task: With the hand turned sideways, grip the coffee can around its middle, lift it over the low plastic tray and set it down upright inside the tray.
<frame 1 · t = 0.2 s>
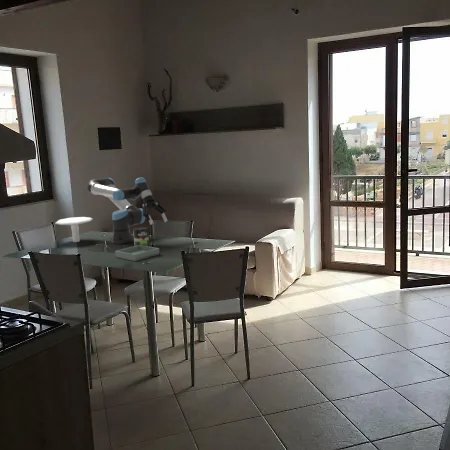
hand: (159, 222, 348), 14 cm above the table, tool tilted 35°, fingers open, 13 cm apart
table 2: (76, 241, 369), on the table
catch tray: (137, 255, 314), on the table
coffee can: (142, 248, 335), on the table
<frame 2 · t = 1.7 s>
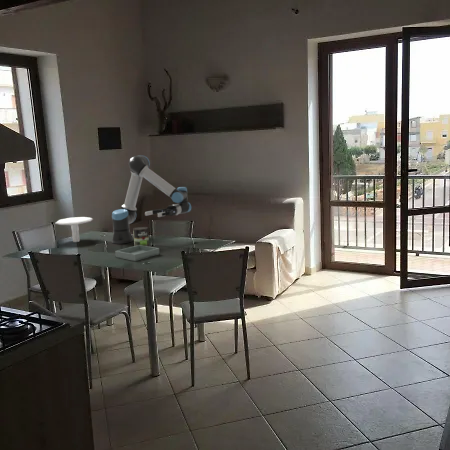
hand: (151, 214, 339), 22 cm above the table, tool horizontal, fingers open, 13 cm apart
nothing on the table moved.
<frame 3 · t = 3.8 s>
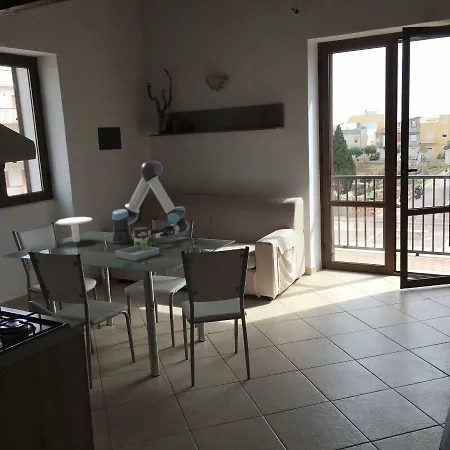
hand: (149, 235, 338), 8 cm above the table, tool horizontal, fingers open, 13 cm apart
nothing on the table moved.
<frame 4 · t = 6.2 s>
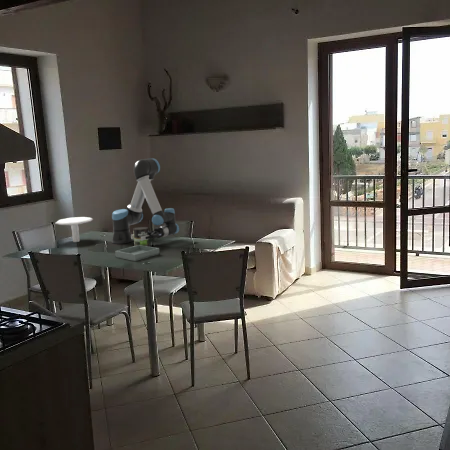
hand: (136, 237, 331), 8 cm above the table, tool horizontal, fingers closed on coffee can, 10 cm apart
coffee can: (142, 248, 335), on the table, touching gripper
everything else where it was.
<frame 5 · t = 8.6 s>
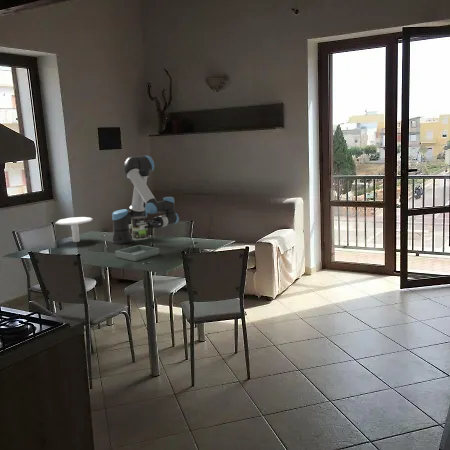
hand: (134, 227, 313), 18 cm above the table, tool horizontal, fingers closed on coffee can, 10 cm apart
coffee can: (140, 238, 318), point 10 cm above the table, touching gripper
everything else where it was.
when the fingers open (10 cm above the table, at t = 11.0 s): coffee can drops 1 cm, resting on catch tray.
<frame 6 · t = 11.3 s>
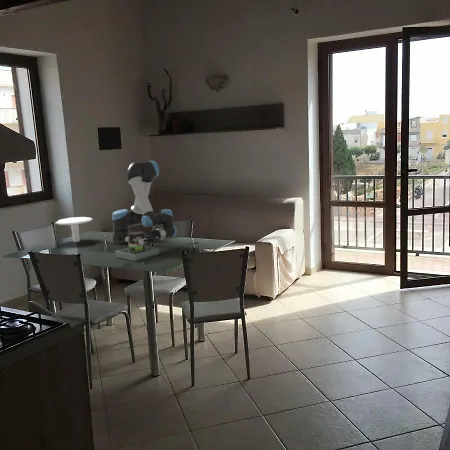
hand: (132, 240, 309), 10 cm above the table, tool horizontal, fingers open, 13 cm apart
coffee can: (137, 254, 314), point 1 cm above the table, touching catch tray
everything else where it was.
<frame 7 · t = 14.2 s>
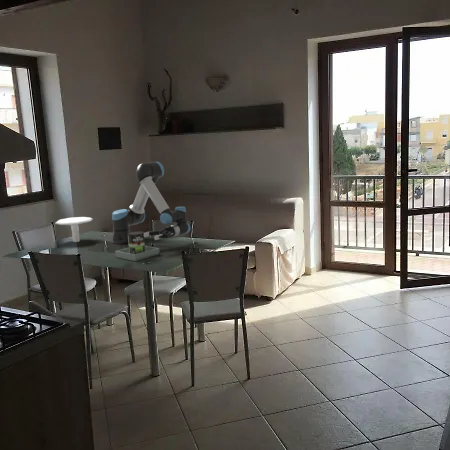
hand: (147, 236, 319), 11 cm above the table, tool horizontal, fingers open, 13 cm apart
nothing on the table moved.
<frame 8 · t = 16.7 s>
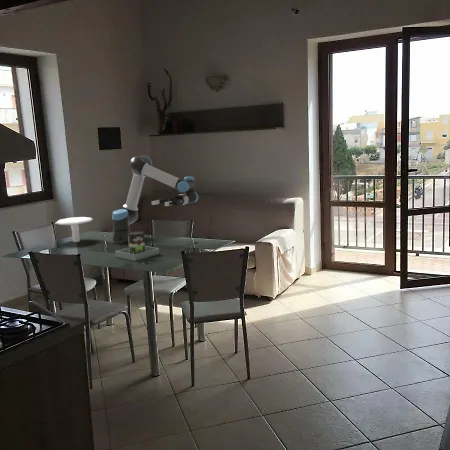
hand: (158, 203, 332), 30 cm above the table, tool horizontal, fingers open, 13 cm apart
nothing on the table moved.
at the end: coffee can inside the target area on the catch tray (0.1 cm from its centre), point 0.8 cm above the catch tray's base; coffee can tilted 0°; the gripper is holding nothing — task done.
